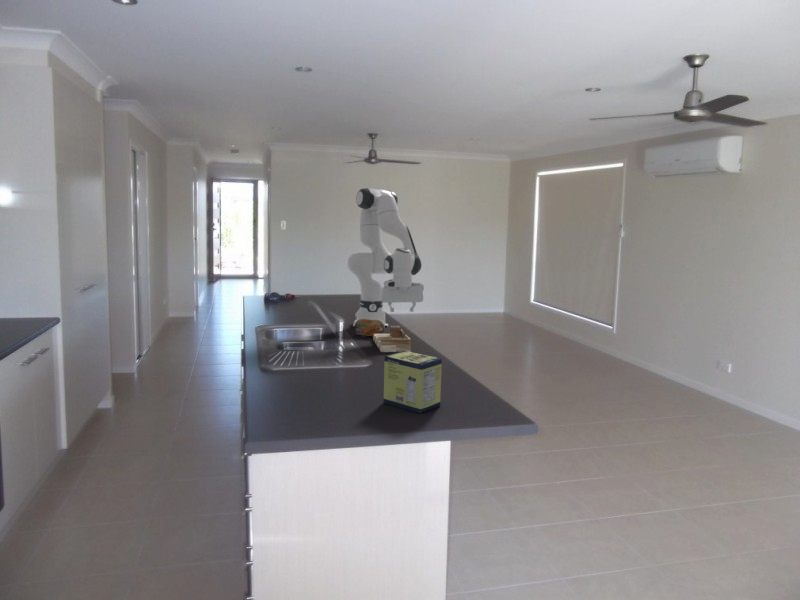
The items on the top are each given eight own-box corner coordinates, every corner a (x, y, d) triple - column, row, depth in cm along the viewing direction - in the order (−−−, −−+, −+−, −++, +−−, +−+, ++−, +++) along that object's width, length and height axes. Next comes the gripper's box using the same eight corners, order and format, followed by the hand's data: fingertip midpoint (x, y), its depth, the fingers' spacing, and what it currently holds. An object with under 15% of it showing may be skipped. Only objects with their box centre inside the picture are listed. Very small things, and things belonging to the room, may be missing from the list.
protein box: (402, 395, 195) (404, 349, 192) (441, 406, 185) (443, 358, 183) (382, 402, 187) (383, 355, 184) (421, 414, 177) (422, 364, 175)
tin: (354, 335, 287) (354, 318, 285) (356, 334, 290) (356, 317, 288) (383, 338, 282) (383, 321, 281) (385, 337, 285) (385, 320, 284)
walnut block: (389, 335, 275) (390, 325, 274) (399, 335, 276) (399, 325, 275) (391, 337, 271) (391, 327, 270) (400, 337, 272) (401, 327, 271)
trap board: (373, 340, 277) (373, 328, 276) (400, 339, 280) (400, 328, 279) (381, 352, 254) (381, 339, 253) (410, 351, 256) (411, 339, 256)
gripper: (422, 282, 283) (421, 310, 284) (380, 282, 279) (379, 310, 280) (425, 283, 277) (424, 312, 278) (382, 283, 273) (382, 312, 274)
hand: (401, 311), depth 279 cm, fingers open, 8 cm apart
